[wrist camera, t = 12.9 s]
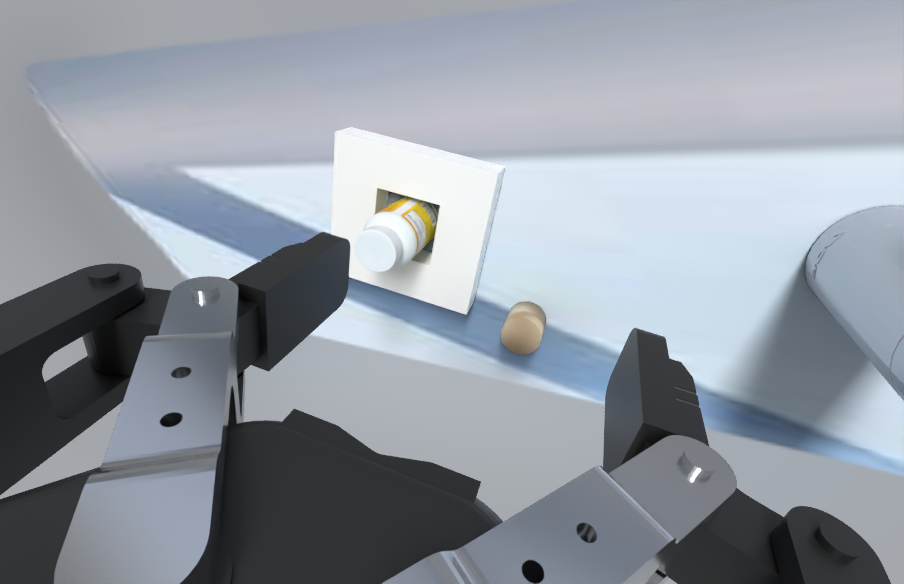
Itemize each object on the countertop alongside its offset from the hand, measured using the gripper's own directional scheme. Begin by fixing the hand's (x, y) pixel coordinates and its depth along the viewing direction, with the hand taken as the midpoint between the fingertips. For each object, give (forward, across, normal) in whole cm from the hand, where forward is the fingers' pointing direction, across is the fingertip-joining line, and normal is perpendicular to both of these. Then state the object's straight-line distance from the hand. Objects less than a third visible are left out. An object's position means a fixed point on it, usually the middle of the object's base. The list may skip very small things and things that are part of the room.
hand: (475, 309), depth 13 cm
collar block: (+32, +13, +12) cm, 36 cm away
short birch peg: (+32, -1, +19) cm, 37 cm away
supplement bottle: (+32, +13, +12) cm, 37 cm away
